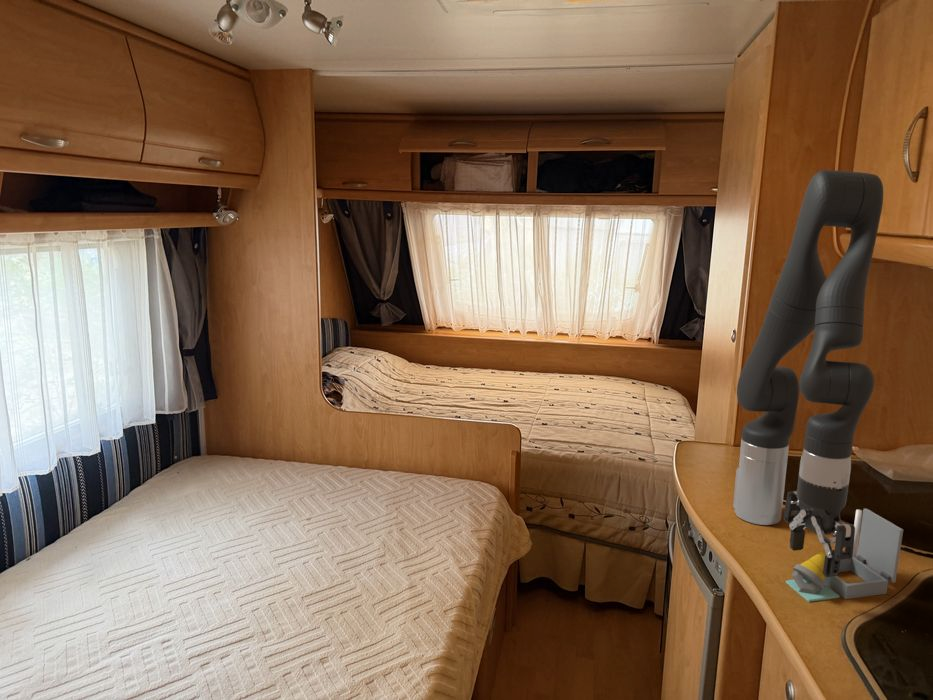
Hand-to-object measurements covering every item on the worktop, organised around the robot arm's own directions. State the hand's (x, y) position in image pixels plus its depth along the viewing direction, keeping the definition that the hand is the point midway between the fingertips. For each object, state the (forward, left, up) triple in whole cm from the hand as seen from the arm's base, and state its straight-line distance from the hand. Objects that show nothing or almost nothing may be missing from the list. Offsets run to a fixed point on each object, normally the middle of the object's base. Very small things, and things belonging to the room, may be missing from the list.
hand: (812, 562), depth 115 cm
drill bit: (0, 0, -5) cm, 5 cm away
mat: (0, 0, -5) cm, 5 cm away
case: (-1, +9, -5) cm, 11 cm away
